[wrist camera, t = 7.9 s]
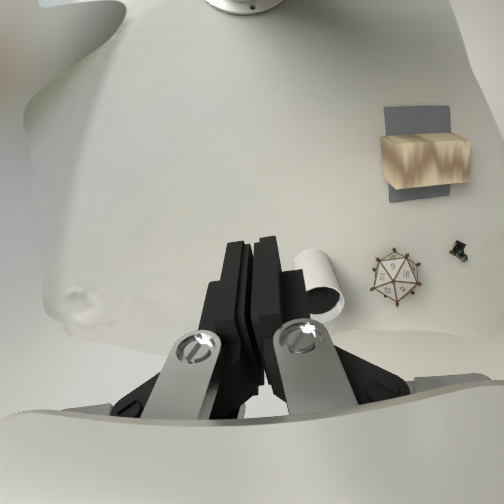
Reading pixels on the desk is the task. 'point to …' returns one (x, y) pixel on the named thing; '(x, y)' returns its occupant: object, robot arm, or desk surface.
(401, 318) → the desk surface
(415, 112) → the slate mat
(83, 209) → the desk surface
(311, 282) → the white and black cylinder
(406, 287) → the game die
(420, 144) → the maple block
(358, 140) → the desk surface
